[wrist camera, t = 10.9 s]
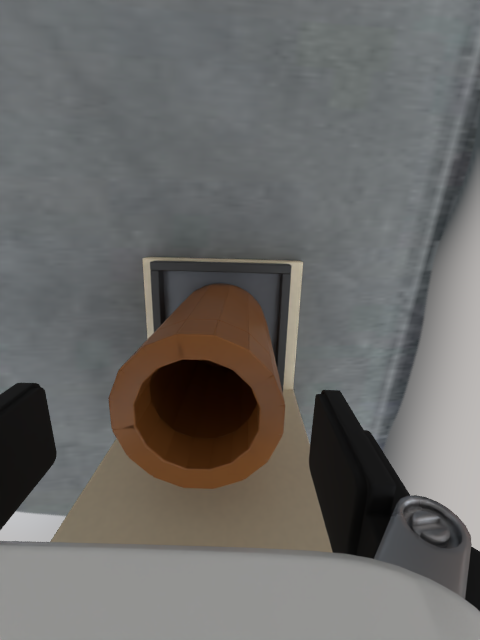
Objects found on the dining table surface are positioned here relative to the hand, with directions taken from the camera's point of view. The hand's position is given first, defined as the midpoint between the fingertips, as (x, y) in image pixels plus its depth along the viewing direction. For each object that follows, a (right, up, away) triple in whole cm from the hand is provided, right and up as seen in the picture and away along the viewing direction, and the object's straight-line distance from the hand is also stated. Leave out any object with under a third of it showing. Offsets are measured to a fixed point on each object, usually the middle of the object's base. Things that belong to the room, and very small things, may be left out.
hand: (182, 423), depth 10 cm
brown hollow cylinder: (+1, +3, +13) cm, 13 cm away
